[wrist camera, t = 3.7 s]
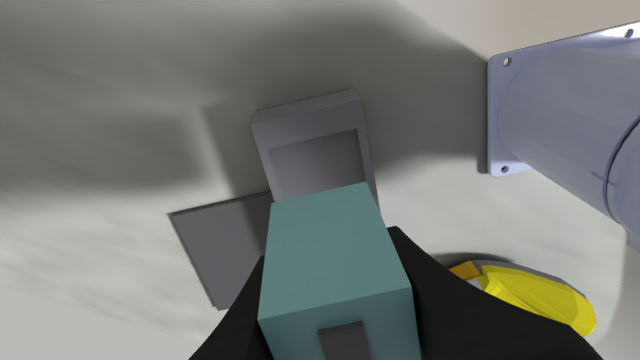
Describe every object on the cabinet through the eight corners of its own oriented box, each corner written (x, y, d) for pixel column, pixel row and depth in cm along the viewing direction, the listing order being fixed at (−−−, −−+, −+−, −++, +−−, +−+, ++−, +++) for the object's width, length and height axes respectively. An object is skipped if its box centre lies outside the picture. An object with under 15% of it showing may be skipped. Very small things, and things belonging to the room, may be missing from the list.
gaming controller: (563, 268, 28) (470, 224, 26) (620, 322, 23) (511, 275, 21) (453, 377, 34) (367, 351, 31) (481, 440, 29) (381, 415, 26)
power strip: (255, 111, 21) (248, 129, 17) (352, 87, 20) (363, 101, 17) (314, 300, 28) (317, 338, 24) (387, 284, 27) (399, 321, 24)
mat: (272, 190, 23) (272, 193, 23) (304, 288, 27) (304, 292, 27) (173, 213, 23) (171, 216, 23) (219, 307, 27) (218, 310, 27)
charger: (366, 181, 14) (413, 292, 8) (379, 257, 16) (426, 390, 10) (271, 203, 14) (256, 326, 9) (295, 275, 16) (296, 417, 10)
